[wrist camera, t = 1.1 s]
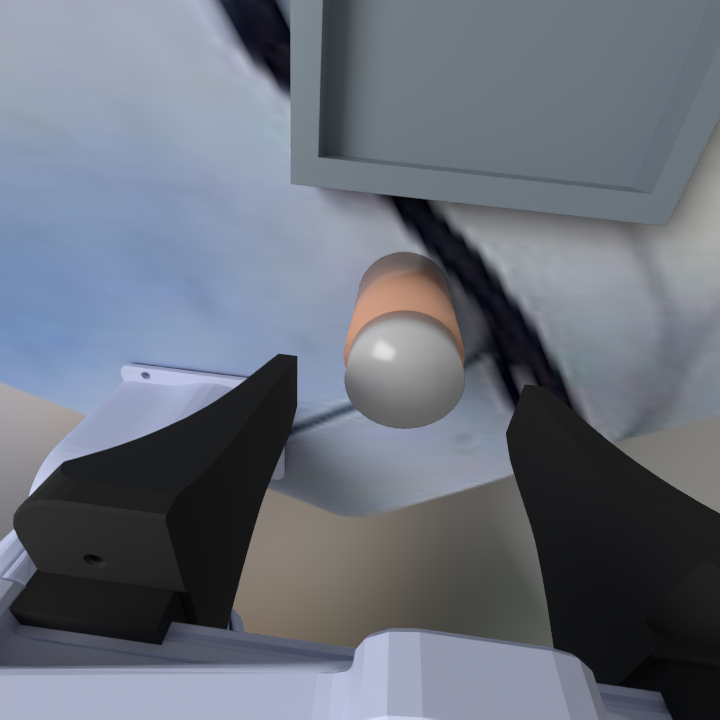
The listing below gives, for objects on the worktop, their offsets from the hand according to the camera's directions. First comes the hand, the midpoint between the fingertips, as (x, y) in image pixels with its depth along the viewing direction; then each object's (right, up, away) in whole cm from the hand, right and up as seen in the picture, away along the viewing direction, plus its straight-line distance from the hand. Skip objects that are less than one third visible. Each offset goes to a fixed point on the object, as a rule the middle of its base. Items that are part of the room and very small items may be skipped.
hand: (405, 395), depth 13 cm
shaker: (+1, +4, +7) cm, 8 cm away
